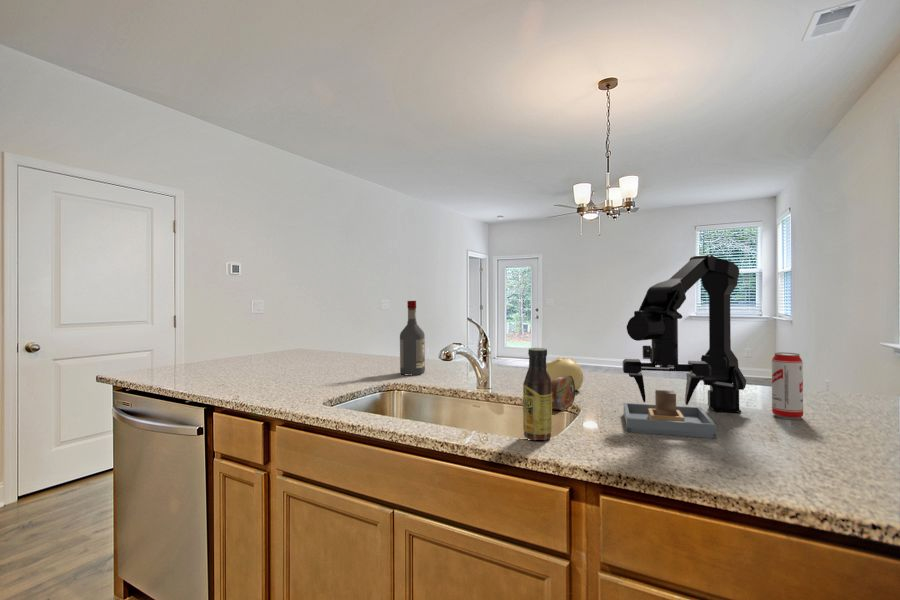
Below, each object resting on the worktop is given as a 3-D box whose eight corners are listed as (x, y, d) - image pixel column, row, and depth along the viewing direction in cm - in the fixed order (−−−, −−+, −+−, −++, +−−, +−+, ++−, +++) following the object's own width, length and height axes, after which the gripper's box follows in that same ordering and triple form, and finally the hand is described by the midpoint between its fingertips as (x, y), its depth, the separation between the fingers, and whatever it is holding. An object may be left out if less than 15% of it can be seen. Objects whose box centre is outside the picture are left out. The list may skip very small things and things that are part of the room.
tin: (558, 413, 120) (557, 382, 119) (547, 412, 121) (546, 381, 121) (576, 402, 132) (576, 373, 132) (565, 400, 134) (565, 372, 134)
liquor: (399, 375, 181) (397, 301, 181) (405, 371, 190) (403, 300, 190) (421, 375, 179) (420, 300, 179) (426, 371, 188) (425, 300, 188)
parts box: (700, 419, 112) (700, 407, 112) (716, 438, 97) (716, 424, 97) (623, 414, 118) (623, 402, 118) (627, 431, 103) (627, 418, 103)
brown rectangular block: (673, 419, 109) (673, 390, 109) (676, 424, 105) (676, 394, 105) (655, 418, 110) (655, 389, 110) (657, 422, 106) (657, 393, 106)
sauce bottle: (520, 434, 102) (519, 347, 102) (547, 432, 103) (546, 346, 103) (527, 443, 96) (526, 350, 95) (556, 442, 96) (555, 349, 96)
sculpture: (569, 385, 156) (568, 354, 156) (590, 392, 145) (589, 359, 145) (540, 388, 153) (539, 356, 153) (559, 395, 141) (559, 361, 141)
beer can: (797, 414, 115) (796, 352, 115) (807, 421, 109) (807, 355, 109) (768, 412, 117) (768, 351, 117) (777, 419, 111) (776, 354, 111)
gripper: (701, 335, 112) (701, 398, 112) (621, 334, 118) (621, 394, 118) (711, 340, 101) (712, 409, 101) (623, 338, 107) (624, 403, 107)
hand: (665, 403), depth 107 cm, fingers open, 9 cm apart
